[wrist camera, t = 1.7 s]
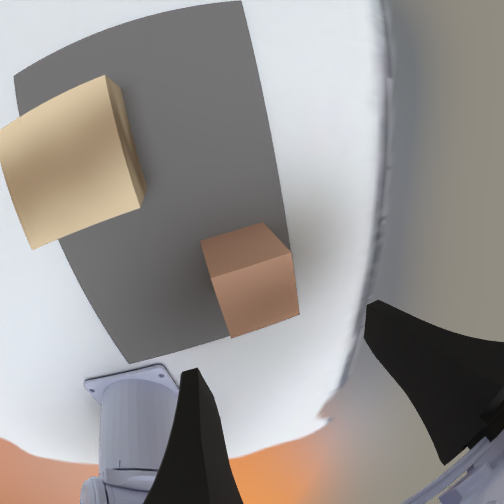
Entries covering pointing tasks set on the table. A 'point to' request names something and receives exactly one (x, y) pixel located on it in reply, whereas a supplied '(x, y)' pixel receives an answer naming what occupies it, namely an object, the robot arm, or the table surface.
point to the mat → (171, 169)
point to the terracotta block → (251, 278)
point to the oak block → (72, 162)
